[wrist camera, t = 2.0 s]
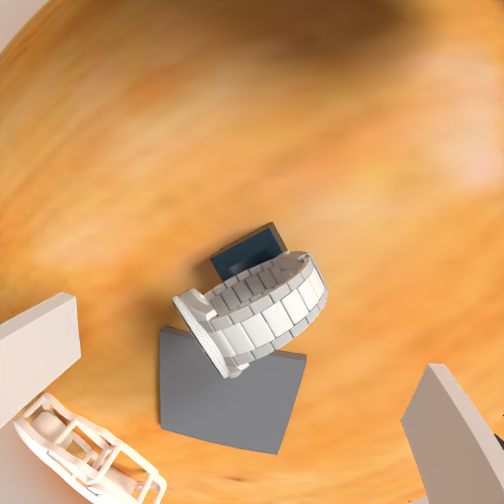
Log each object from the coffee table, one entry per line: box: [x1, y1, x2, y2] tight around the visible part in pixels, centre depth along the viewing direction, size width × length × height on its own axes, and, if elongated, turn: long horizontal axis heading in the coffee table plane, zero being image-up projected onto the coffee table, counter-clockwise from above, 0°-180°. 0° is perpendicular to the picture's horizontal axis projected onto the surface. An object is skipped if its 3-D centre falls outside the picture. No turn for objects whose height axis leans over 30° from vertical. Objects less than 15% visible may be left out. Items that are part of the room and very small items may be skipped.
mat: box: [160, 326, 307, 455], centre depth 25 cm, size 12×12×1 cm
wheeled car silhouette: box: [13, 392, 167, 504], centre depth 28 cm, size 20×11×7 cm, turn 42°
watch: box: [172, 222, 328, 379], centre depth 18 cm, size 6×8×11 cm
